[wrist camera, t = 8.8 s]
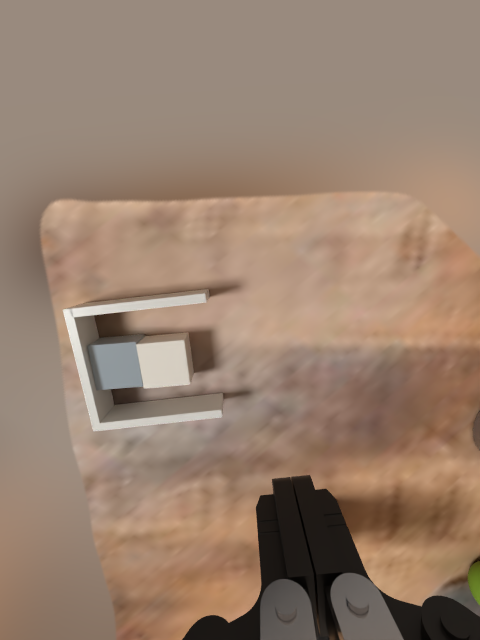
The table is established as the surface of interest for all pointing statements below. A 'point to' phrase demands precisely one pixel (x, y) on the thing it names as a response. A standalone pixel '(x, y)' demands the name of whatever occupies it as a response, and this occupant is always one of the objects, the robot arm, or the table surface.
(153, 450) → the table surface
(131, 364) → the grey-blue square block
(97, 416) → the tray
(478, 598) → the snail figurine
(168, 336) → the tile white
